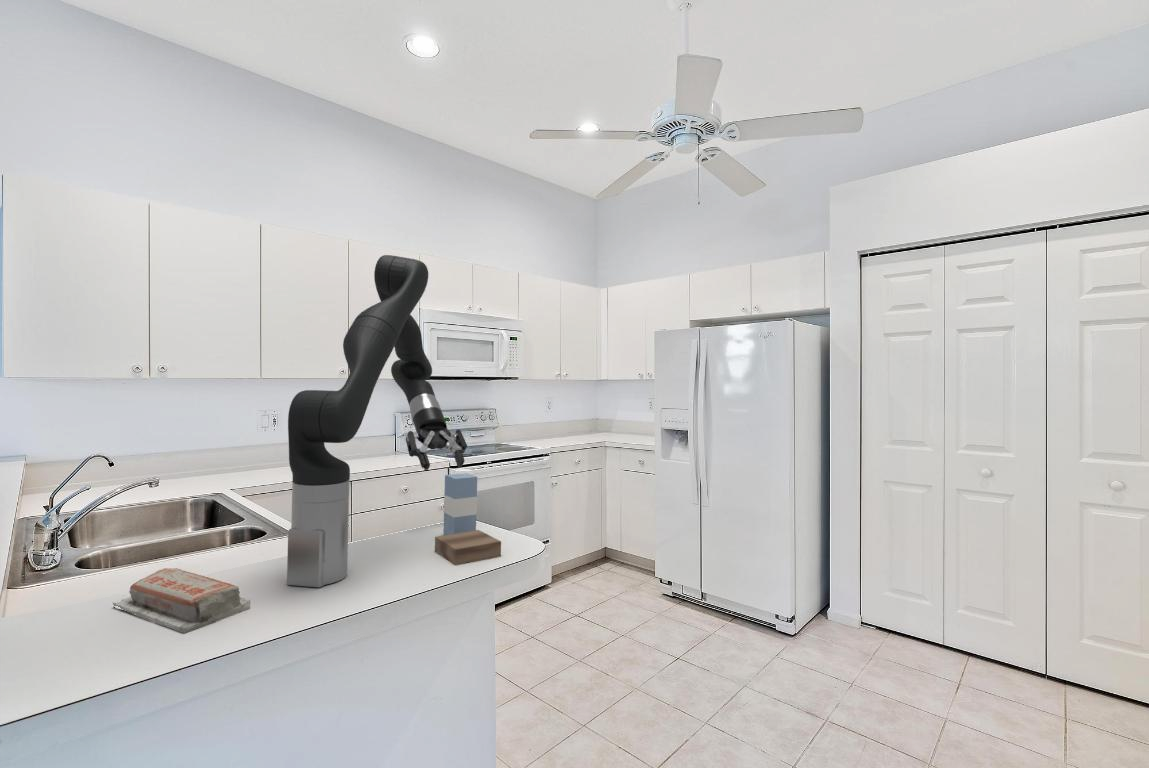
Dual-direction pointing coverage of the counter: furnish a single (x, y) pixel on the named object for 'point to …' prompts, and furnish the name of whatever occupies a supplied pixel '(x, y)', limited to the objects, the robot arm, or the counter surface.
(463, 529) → the carton
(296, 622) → the counter surface
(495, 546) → the podium
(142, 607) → the packaged product
